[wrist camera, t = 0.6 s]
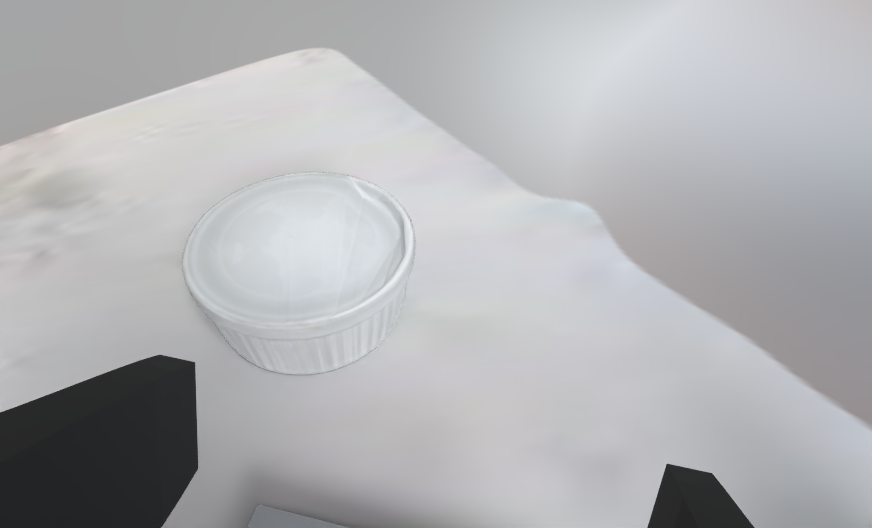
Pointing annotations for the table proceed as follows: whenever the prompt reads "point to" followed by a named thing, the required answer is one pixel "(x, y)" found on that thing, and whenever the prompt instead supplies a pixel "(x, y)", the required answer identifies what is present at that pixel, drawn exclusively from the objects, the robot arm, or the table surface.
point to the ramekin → (302, 269)
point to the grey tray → (285, 519)
